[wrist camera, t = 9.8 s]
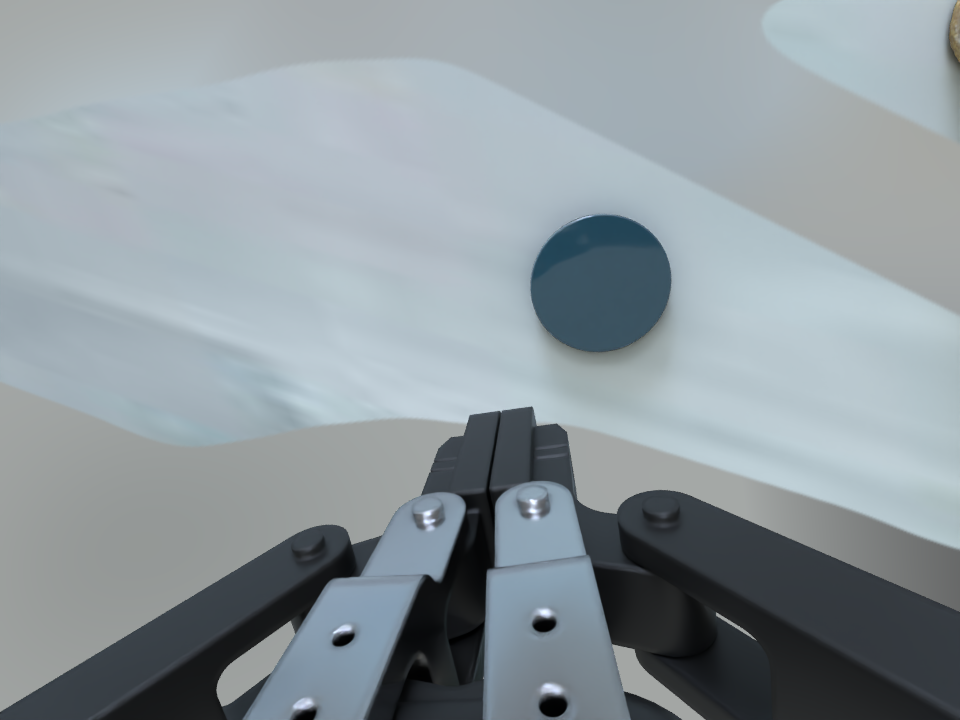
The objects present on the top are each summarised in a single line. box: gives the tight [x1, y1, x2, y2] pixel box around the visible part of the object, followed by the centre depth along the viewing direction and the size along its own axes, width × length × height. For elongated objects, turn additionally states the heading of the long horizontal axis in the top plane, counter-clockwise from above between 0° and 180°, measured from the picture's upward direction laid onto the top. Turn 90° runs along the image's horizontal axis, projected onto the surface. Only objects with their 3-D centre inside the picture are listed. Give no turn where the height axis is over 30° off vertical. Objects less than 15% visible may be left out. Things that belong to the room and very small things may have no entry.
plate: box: [531, 214, 671, 352], centre depth 28 cm, size 7×7×1 cm
